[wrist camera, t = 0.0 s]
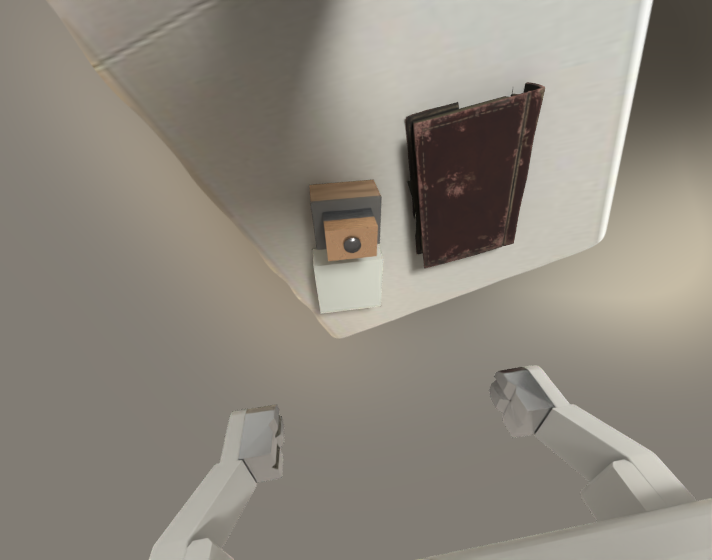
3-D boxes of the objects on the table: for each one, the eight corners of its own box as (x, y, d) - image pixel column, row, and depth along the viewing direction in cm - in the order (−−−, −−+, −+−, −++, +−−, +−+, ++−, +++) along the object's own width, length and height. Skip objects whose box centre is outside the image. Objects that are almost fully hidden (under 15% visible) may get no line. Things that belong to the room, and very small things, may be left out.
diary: (528, 80, 41) (552, 86, 37) (504, 229, 57) (518, 243, 54) (398, 116, 41) (409, 126, 37) (412, 254, 58) (420, 270, 54)
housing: (322, 212, 42) (325, 232, 38) (370, 207, 42) (378, 227, 38) (325, 241, 45) (328, 263, 41) (370, 236, 46) (377, 257, 42)
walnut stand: (309, 184, 45) (310, 203, 41) (373, 179, 46) (381, 197, 42) (315, 229, 50) (317, 250, 46) (372, 223, 51) (379, 243, 47)
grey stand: (312, 249, 53) (313, 266, 49) (377, 242, 54) (383, 258, 50) (319, 295, 61) (320, 313, 57) (376, 289, 62) (380, 306, 59)
